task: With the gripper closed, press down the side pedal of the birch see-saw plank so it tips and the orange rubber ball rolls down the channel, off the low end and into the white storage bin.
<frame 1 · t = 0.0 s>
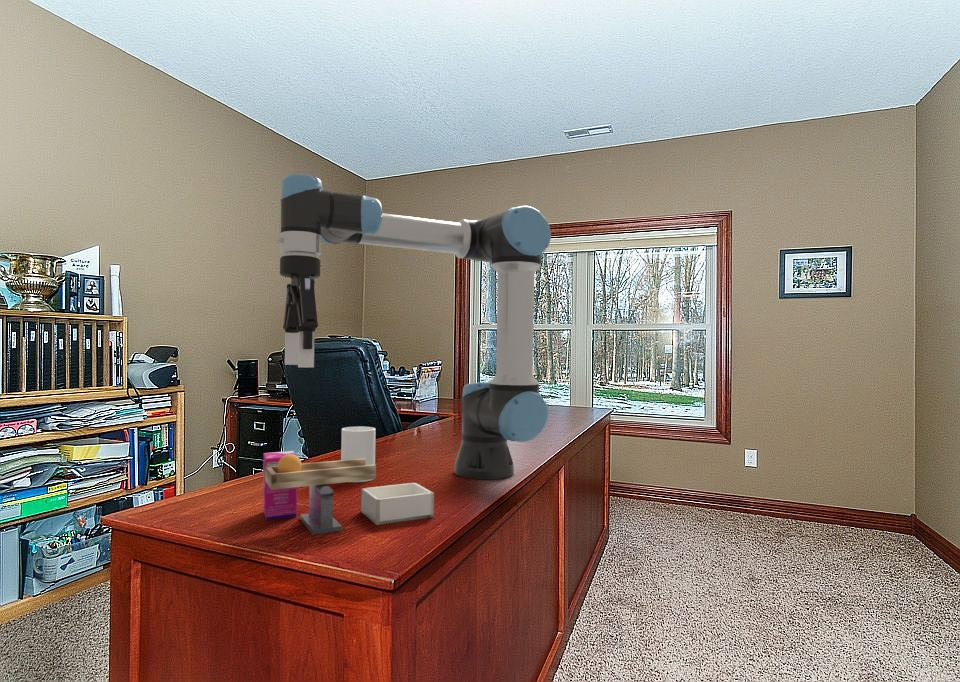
hand: (298, 366, 111), 28 cm above the table, fingers open, 13 cm apart
fulcrum: (320, 524, 103), on the table
seesaw: (317, 469, 106), point 9 cm above the table, hinge at 0.0°, touching ball
supplement box: (279, 515, 109), on the table
white storage bin: (396, 514, 110), on the table
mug: (360, 477, 141), on the table
ball: (289, 465, 100), point 11 cm above the table, touching seesaw
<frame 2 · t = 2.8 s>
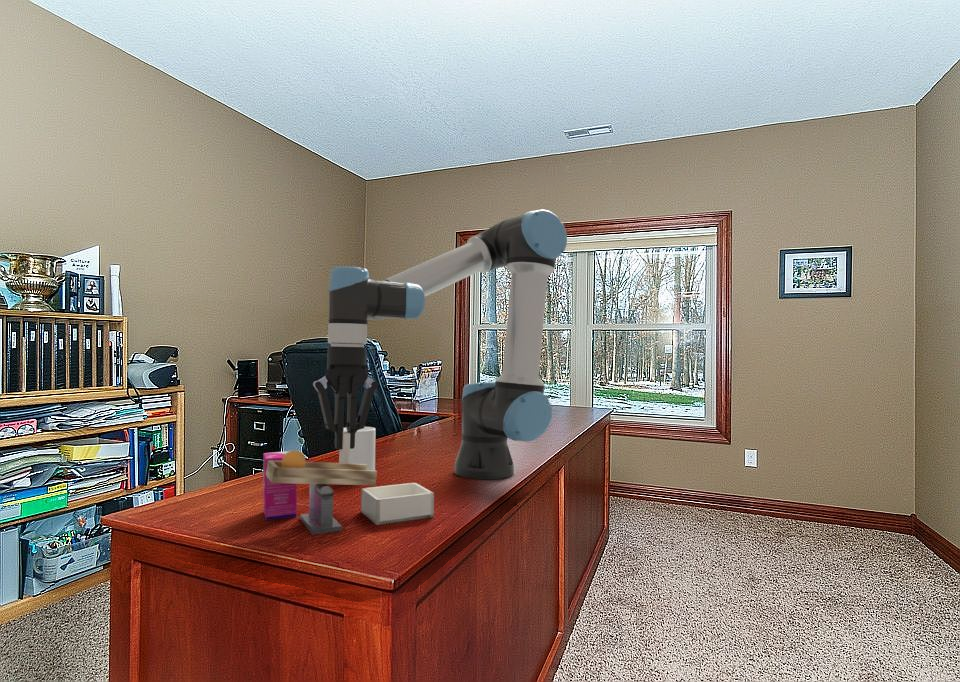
hand: (344, 465, 113), 8 cm above the table, fingers closed
seesaw: (317, 469, 106), point 9 cm above the table, hinge at -7.1°, touching ball, gripper
ball: (293, 461, 101), point 12 cm above the table, tilted 15°, touching seesaw
everything else where it was.
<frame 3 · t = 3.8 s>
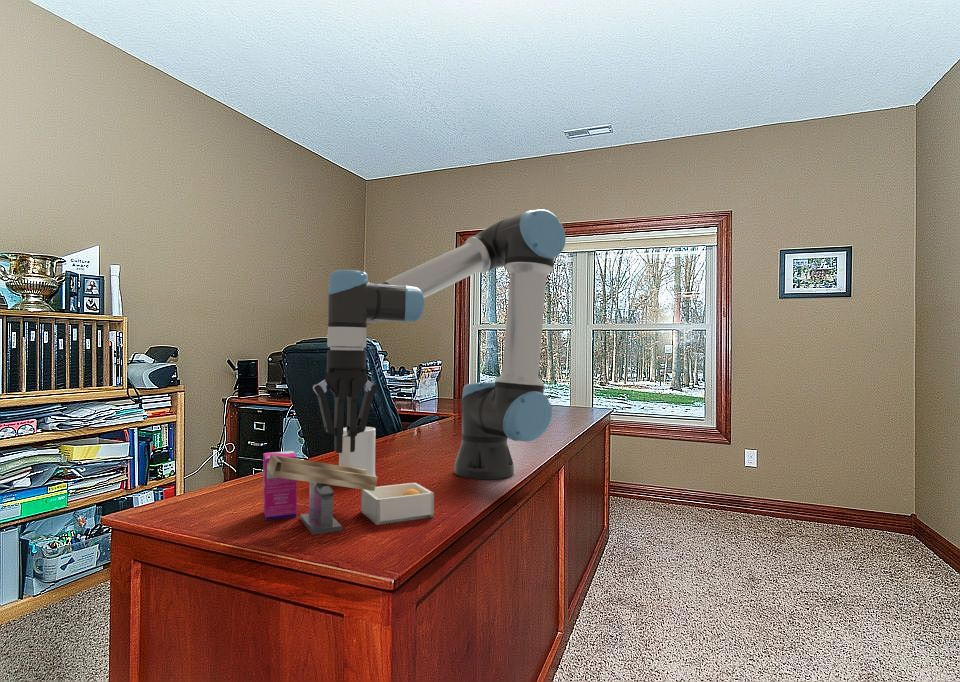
hand: (344, 468, 113), 8 cm above the table, fingers closed
seesaw: (318, 469, 106), point 9 cm above the table, hinge at -13.6°, touching gripper
ball: (411, 499, 111), point 2 cm above the table, tilted 29°, touching white storage bin
everything else where it was.
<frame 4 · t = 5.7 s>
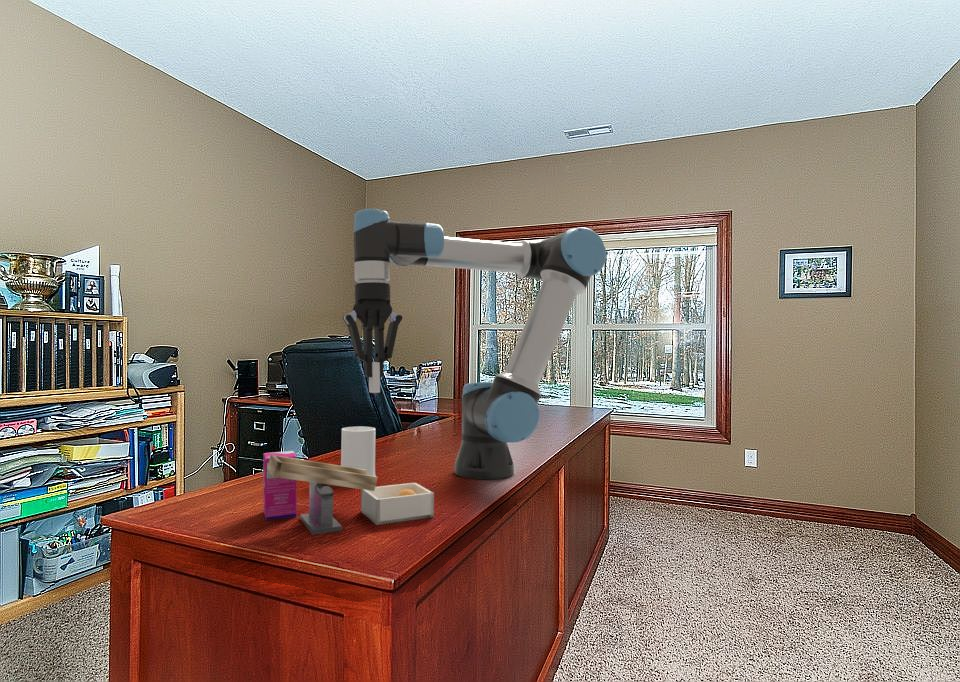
hand: (374, 392, 124), 22 cm above the table, fingers closed
seesaw: (318, 469, 106), point 9 cm above the table, hinge at -13.7°
ball: (407, 499, 111), point 2 cm above the table, tilted 52°, touching white storage bin
everything else where it was.
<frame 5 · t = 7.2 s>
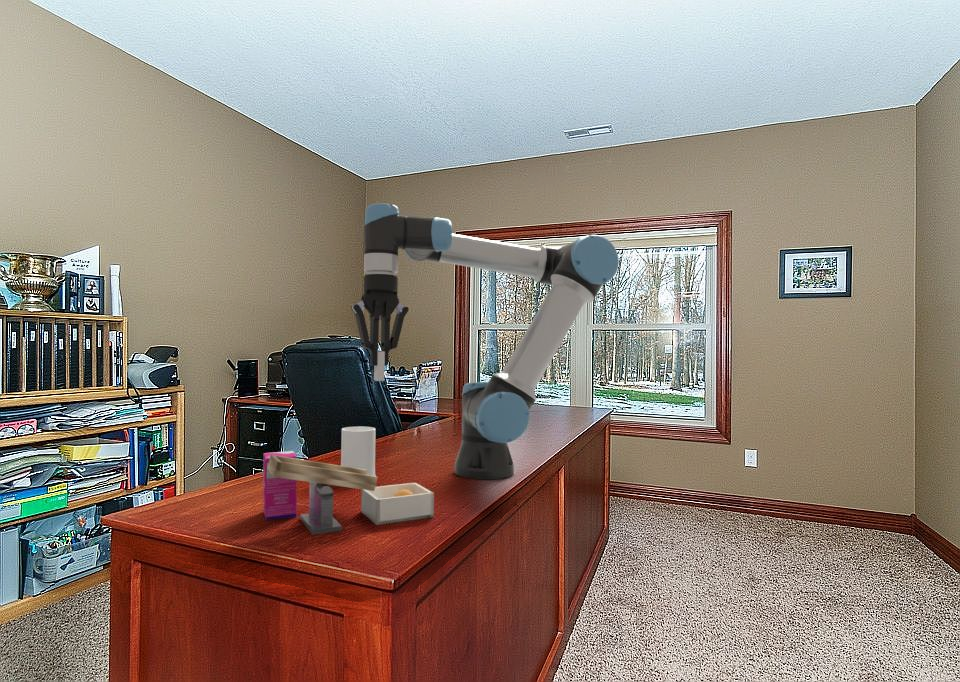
hand: (379, 380, 128), 24 cm above the table, fingers closed
ball: (404, 500, 111), point 2 cm above the table, tilted 70°, touching white storage bin
everything else where it was.
at the end: ball inside the target area on the white storage bin (1.4 cm from its centre), point 2.5 cm above the white storage bin's base; seesaw at -14° (first picture: +0°) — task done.
